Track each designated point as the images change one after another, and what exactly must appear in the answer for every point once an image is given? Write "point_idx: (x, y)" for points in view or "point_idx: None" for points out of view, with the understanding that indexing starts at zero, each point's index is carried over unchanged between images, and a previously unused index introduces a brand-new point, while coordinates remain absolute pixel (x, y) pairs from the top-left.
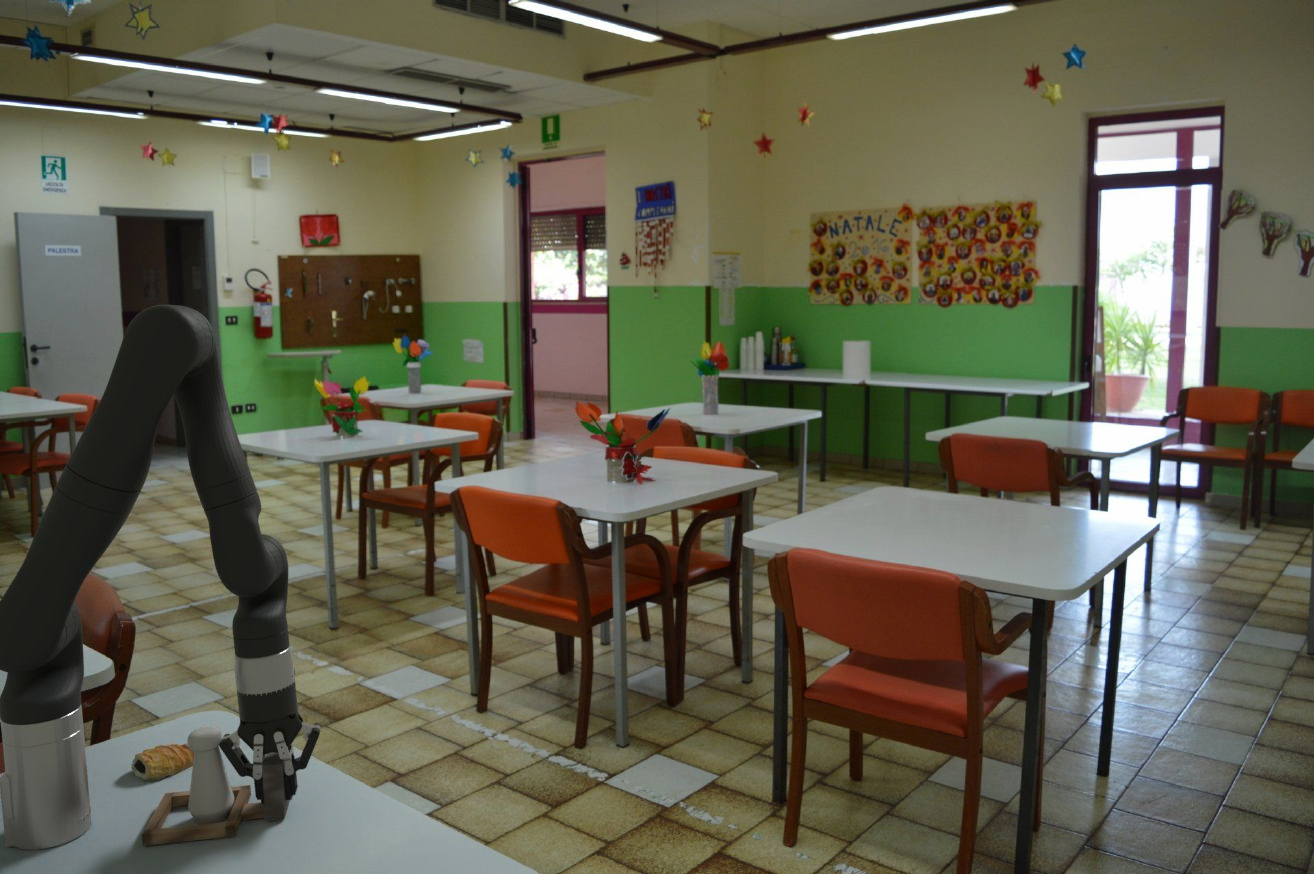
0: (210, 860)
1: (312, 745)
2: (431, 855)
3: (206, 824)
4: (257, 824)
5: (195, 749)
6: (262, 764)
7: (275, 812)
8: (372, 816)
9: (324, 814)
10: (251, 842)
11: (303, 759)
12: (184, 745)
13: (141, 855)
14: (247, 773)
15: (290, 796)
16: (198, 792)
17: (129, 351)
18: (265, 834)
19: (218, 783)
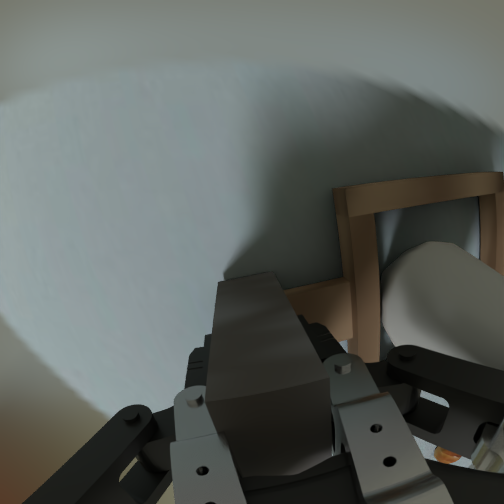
0: (346, 85)
1: (55, 483)
2: None
3: (418, 201)
4: (293, 263)
5: None
6: (333, 406)
7: (243, 284)
8: (24, 293)
9: (123, 312)
10: (274, 162)
11: (117, 438)
12: (460, 456)
13: (475, 142)
14: (388, 359)
15: (205, 337)
16: (488, 267)
17: None
18: (248, 205)
19: (461, 302)
